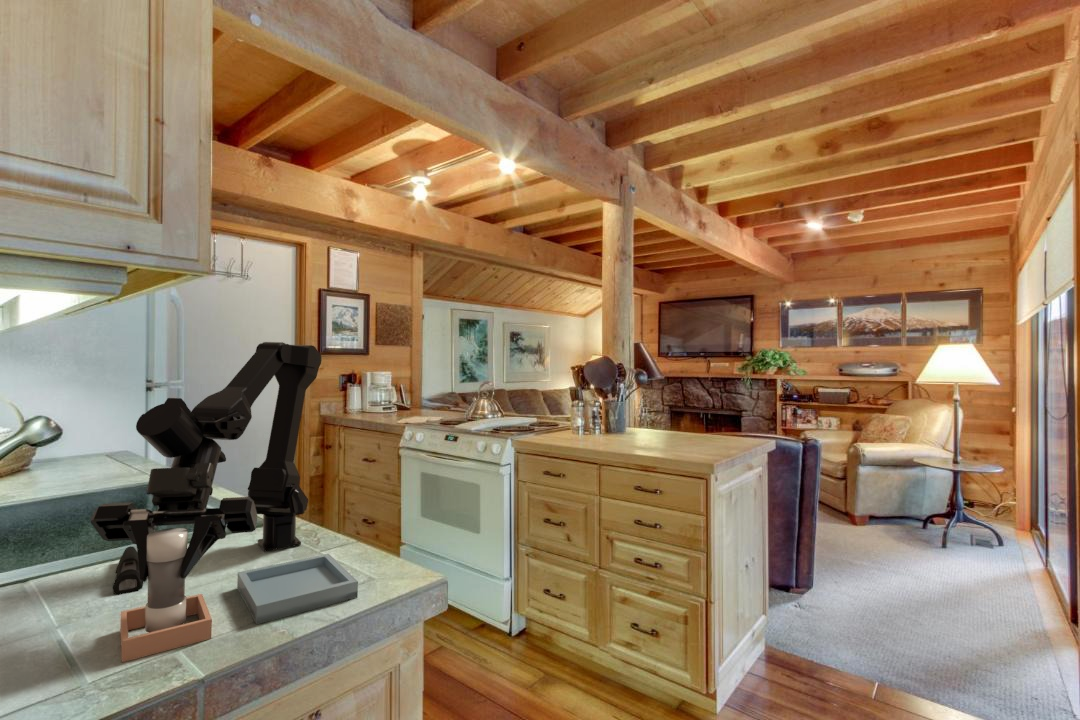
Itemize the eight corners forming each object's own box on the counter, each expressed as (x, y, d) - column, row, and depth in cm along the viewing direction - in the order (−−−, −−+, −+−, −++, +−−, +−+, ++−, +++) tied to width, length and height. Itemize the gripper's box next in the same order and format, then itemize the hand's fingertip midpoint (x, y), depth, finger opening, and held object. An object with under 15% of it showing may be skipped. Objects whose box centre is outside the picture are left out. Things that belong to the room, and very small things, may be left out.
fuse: (144, 622, 71) (145, 531, 71) (183, 613, 74) (185, 525, 74) (146, 636, 67) (148, 541, 67) (187, 626, 70) (189, 534, 70)
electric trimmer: (143, 561, 96) (144, 543, 96) (143, 591, 83) (143, 571, 83) (116, 565, 94) (117, 547, 94) (111, 597, 81) (112, 576, 81)
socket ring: (120, 630, 71) (120, 611, 71) (201, 611, 77) (202, 593, 77) (121, 662, 64) (122, 641, 64) (211, 638, 70) (211, 619, 70)
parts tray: (237, 588, 85) (237, 572, 85) (328, 567, 93) (328, 553, 93) (256, 624, 74) (256, 606, 74) (357, 597, 82) (357, 581, 82)
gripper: (98, 444, 71) (48, 557, 61) (254, 440, 77) (233, 544, 66) (124, 488, 79) (84, 596, 69) (264, 482, 84) (247, 581, 74)
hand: (162, 578), depth 69 cm, fingers closed on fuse, 4 cm apart
